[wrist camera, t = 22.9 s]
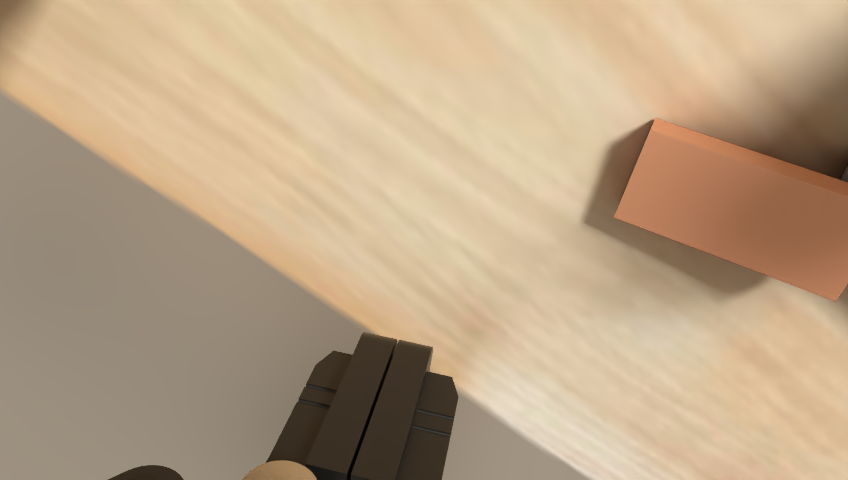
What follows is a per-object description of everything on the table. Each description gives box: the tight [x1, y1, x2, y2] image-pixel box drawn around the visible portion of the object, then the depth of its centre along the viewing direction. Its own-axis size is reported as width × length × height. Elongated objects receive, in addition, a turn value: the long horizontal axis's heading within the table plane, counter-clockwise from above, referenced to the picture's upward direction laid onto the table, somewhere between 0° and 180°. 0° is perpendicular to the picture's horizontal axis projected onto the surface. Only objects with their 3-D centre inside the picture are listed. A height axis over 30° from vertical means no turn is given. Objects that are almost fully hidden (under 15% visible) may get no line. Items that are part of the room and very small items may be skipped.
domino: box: [614, 118, 848, 301], centre depth 32 cm, size 2×5×11 cm
